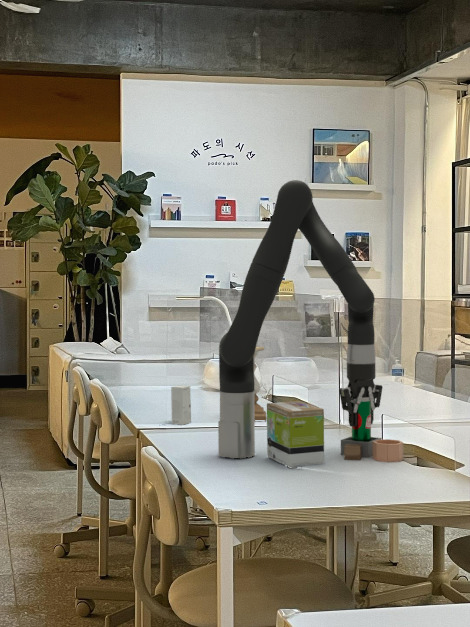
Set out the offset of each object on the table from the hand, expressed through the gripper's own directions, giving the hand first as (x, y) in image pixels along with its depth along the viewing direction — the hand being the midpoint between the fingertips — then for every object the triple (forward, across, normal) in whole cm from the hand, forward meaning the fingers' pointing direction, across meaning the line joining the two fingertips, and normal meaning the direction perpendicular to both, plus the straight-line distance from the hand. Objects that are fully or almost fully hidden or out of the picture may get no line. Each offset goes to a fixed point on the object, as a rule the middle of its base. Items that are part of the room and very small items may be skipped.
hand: (361, 425), depth 253 cm
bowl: (+8, 0, -10) cm, 13 cm away
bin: (+8, 0, 0) cm, 8 cm away
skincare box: (+8, -7, +75) cm, 76 cm away
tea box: (+8, -19, +5) cm, 21 cm away
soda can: (+5, 0, 0) cm, 5 cm away
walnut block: (+8, -6, -3) cm, 11 cm away
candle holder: (+8, +16, +68) cm, 71 cm away
